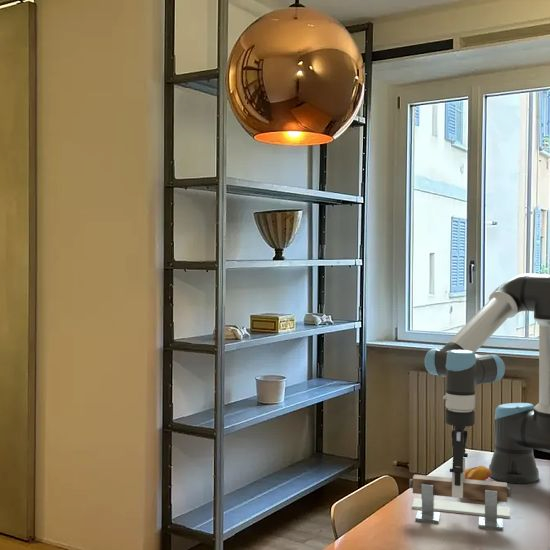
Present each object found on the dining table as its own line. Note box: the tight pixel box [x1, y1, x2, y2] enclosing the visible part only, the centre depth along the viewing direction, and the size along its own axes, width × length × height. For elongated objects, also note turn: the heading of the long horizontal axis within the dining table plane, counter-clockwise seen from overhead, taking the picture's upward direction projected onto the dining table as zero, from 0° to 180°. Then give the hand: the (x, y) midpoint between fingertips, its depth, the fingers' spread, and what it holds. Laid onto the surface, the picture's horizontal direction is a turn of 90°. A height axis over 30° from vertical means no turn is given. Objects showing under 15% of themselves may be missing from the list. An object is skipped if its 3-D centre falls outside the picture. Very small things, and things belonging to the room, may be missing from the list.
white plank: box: [411, 497, 511, 519], centre depth 201 cm, size 26×7×1 cm, turn 73°
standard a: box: [415, 484, 441, 524], centre depth 194 cm, size 6×6×10 cm
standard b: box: [478, 489, 504, 531], centre depth 189 cm, size 6×6×10 cm
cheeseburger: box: [465, 465, 497, 502], centre depth 211 cm, size 10×11×10 cm
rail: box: [408, 474, 512, 503], centre depth 192 cm, size 26×4×4 cm, turn 73°
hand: (458, 489), depth 191 cm, fingers open, 13 cm apart
